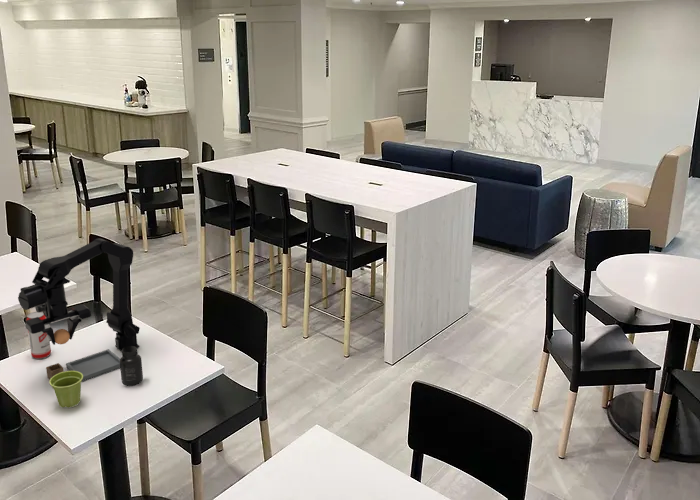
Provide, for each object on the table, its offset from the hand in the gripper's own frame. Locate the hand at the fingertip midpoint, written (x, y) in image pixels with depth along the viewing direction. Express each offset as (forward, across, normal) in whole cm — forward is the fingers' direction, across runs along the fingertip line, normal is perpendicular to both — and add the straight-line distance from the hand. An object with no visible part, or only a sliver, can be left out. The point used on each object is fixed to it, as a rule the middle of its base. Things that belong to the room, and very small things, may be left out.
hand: (62, 341), depth 198 cm
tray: (+13, -9, +2) cm, 16 cm away
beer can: (+13, +2, -18) cm, 22 cm away
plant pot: (+13, +6, +17) cm, 22 cm away
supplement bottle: (+13, -14, +18) cm, 26 cm away
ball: (-2, 0, 0) cm, 2 cm away
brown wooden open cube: (+12, +4, 0) cm, 13 cm away
